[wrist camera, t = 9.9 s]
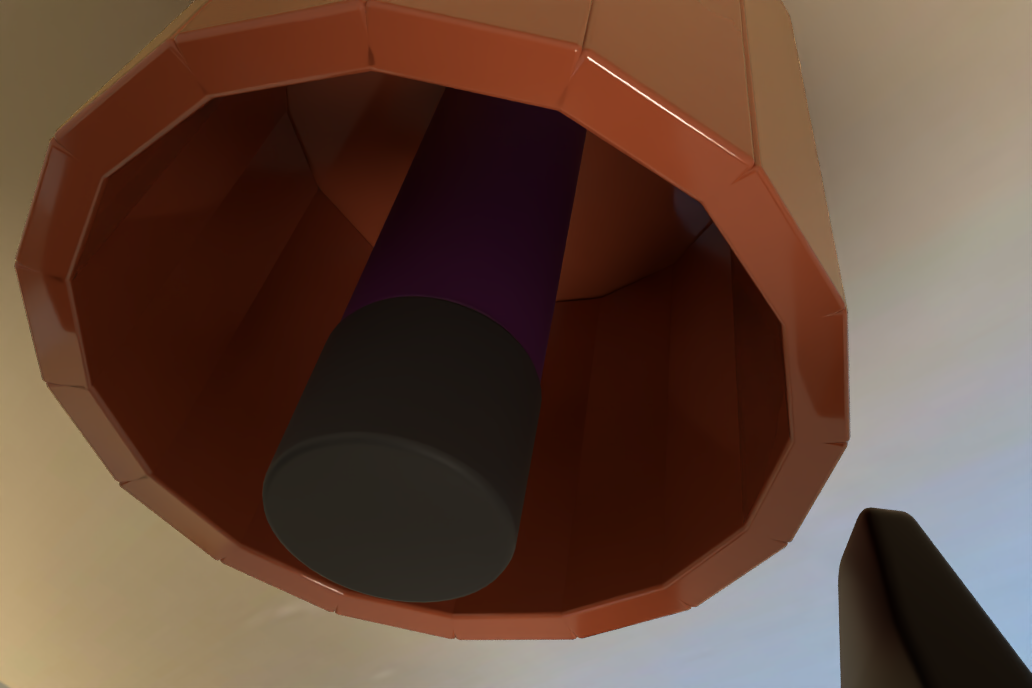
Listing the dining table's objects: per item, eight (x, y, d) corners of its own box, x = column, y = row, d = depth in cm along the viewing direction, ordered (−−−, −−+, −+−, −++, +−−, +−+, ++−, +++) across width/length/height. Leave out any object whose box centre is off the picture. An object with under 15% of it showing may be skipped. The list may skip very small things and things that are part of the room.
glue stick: (498, 206, 17) (375, 627, 10) (409, 93, 15) (206, 490, 9) (620, 139, 15) (567, 568, 9) (532, 11, 14) (400, 401, 8)
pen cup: (473, 365, 20) (385, 693, 14) (158, 22, 16) (-138, 290, 10) (882, 177, 16) (984, 534, 10) (598, -353, 12) (509, -247, 6)
